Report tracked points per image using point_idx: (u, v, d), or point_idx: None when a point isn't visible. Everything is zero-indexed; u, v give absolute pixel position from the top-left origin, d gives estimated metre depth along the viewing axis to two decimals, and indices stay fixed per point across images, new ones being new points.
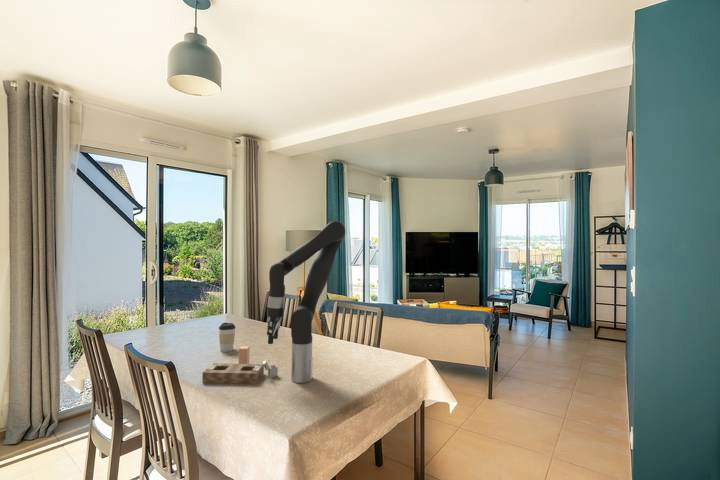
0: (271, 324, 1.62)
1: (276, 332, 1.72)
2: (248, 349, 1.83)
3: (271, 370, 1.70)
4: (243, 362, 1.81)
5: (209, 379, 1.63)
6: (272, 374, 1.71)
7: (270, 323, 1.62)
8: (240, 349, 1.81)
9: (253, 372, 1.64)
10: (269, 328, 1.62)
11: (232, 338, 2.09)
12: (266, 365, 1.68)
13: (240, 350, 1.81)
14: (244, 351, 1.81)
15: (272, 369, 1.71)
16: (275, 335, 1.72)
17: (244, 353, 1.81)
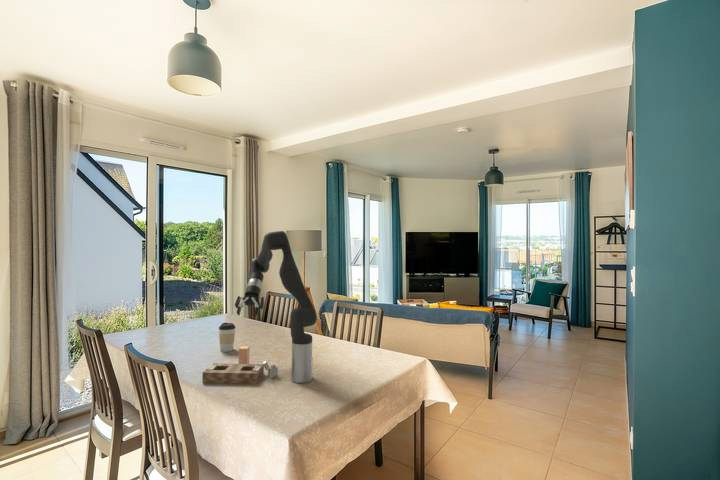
0: None
1: None
2: (248, 349, 1.83)
3: (271, 370, 1.70)
4: (243, 362, 1.81)
5: (209, 379, 1.63)
6: (272, 374, 1.71)
7: None
8: (240, 349, 1.81)
9: (253, 372, 1.64)
10: None
11: (232, 338, 2.09)
12: (266, 365, 1.68)
13: (240, 350, 1.81)
14: (244, 351, 1.81)
15: (272, 369, 1.71)
16: None
17: (244, 353, 1.81)
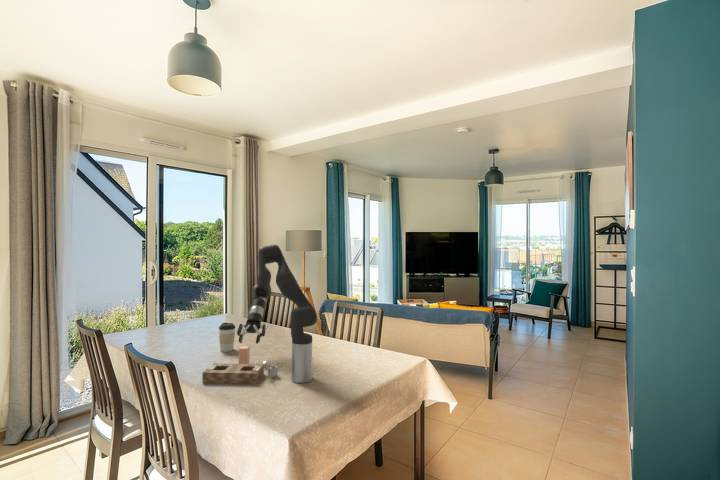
0: None
1: None
2: (248, 349, 1.83)
3: (271, 370, 1.70)
4: (243, 362, 1.81)
5: (209, 379, 1.63)
6: (272, 374, 1.71)
7: None
8: (240, 349, 1.81)
9: (253, 372, 1.64)
10: None
11: (232, 338, 2.09)
12: (266, 365, 1.68)
13: (240, 350, 1.81)
14: (244, 351, 1.81)
15: (272, 369, 1.71)
16: None
17: (244, 353, 1.81)
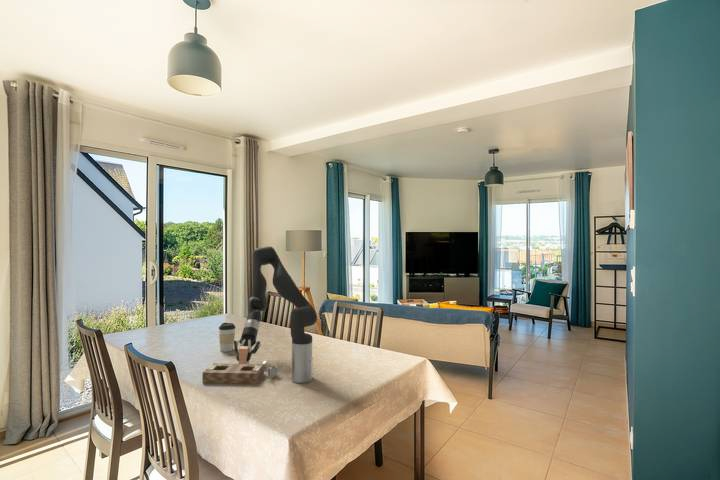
0: (234, 343, 1.87)
1: None
2: (248, 349, 1.83)
3: (271, 370, 1.70)
4: (243, 362, 1.81)
5: (209, 379, 1.63)
6: (272, 374, 1.71)
7: None
8: (240, 349, 1.81)
9: (253, 372, 1.64)
10: None
11: (232, 338, 2.09)
12: (266, 365, 1.68)
13: (240, 350, 1.81)
14: (244, 351, 1.81)
15: (272, 369, 1.71)
16: None
17: (244, 353, 1.81)
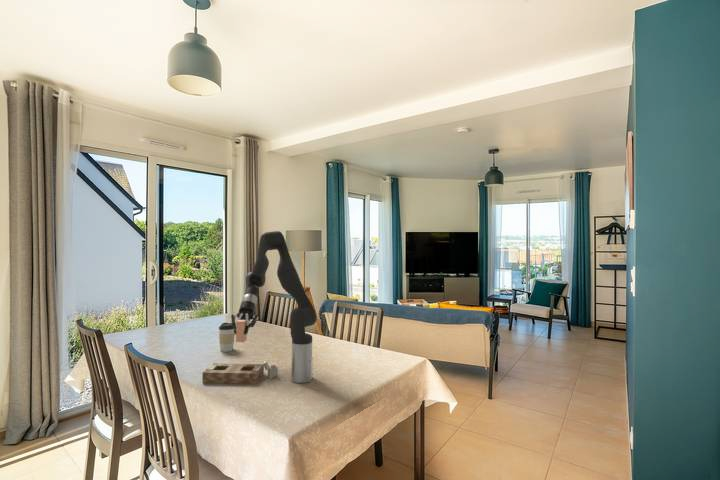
0: None
1: None
2: (245, 322, 1.81)
3: (271, 370, 1.70)
4: (240, 335, 1.79)
5: (209, 379, 1.63)
6: (272, 374, 1.71)
7: None
8: (237, 322, 1.79)
9: (253, 372, 1.64)
10: None
11: (232, 338, 2.09)
12: (266, 365, 1.68)
13: (237, 323, 1.79)
14: (241, 324, 1.79)
15: (272, 369, 1.71)
16: None
17: (241, 326, 1.79)
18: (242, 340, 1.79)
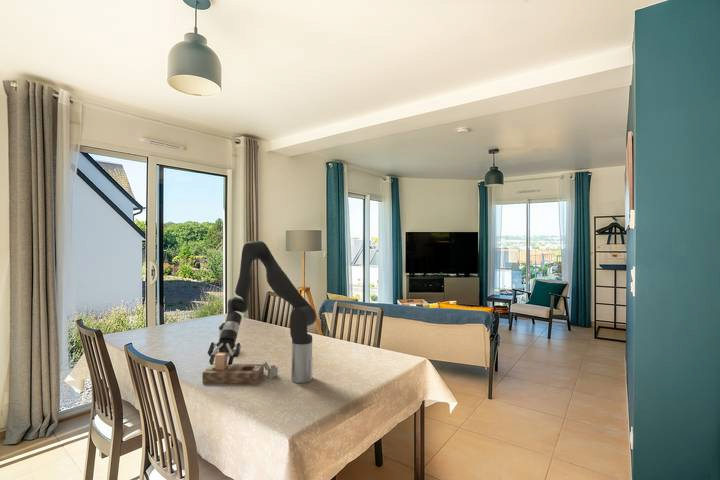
0: None
1: None
2: (225, 356, 1.69)
3: (271, 370, 1.70)
4: None
5: (209, 379, 1.63)
6: (272, 374, 1.71)
7: None
8: (216, 356, 1.67)
9: (253, 372, 1.64)
10: None
11: None
12: (266, 365, 1.68)
13: (216, 357, 1.67)
14: (220, 358, 1.67)
15: (272, 369, 1.71)
16: None
17: (221, 360, 1.67)
18: None
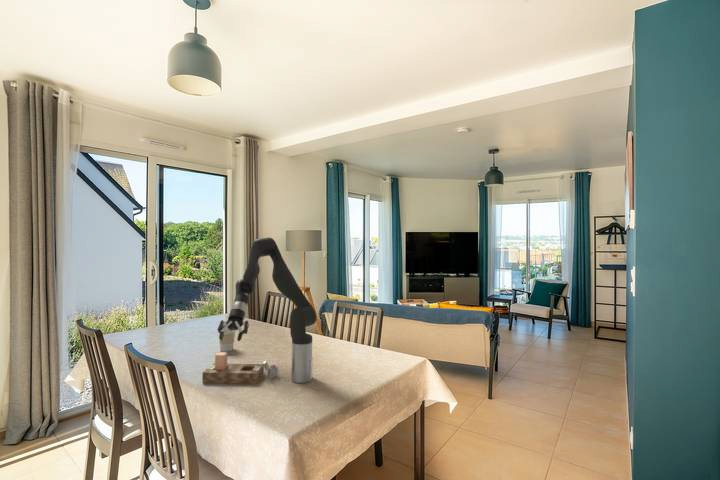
0: None
1: None
2: (225, 356, 1.69)
3: (271, 370, 1.70)
4: None
5: (209, 379, 1.63)
6: (272, 374, 1.71)
7: None
8: (216, 356, 1.67)
9: (253, 372, 1.64)
10: None
11: (232, 338, 2.09)
12: (266, 365, 1.68)
13: (216, 357, 1.67)
14: (220, 358, 1.67)
15: (272, 369, 1.71)
16: None
17: (221, 360, 1.67)
18: None
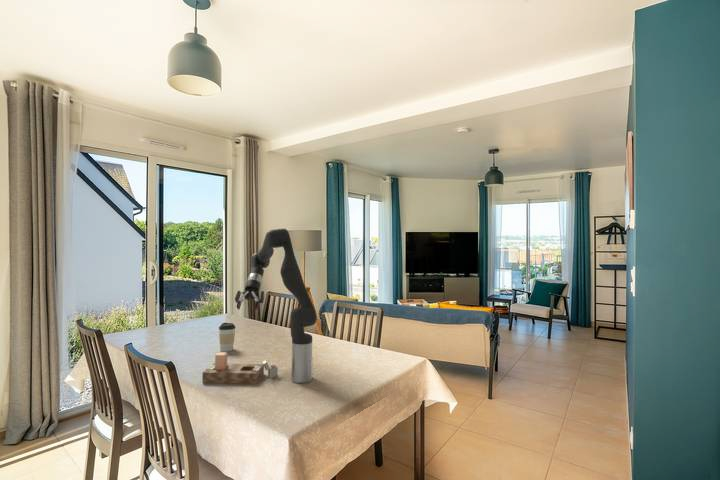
0: None
1: None
2: (225, 356, 1.69)
3: (271, 370, 1.70)
4: None
5: (209, 379, 1.63)
6: (272, 374, 1.71)
7: None
8: (216, 356, 1.67)
9: (253, 372, 1.64)
10: None
11: (232, 338, 2.09)
12: (266, 365, 1.68)
13: (216, 357, 1.67)
14: (220, 358, 1.67)
15: (272, 369, 1.71)
16: None
17: (221, 360, 1.67)
18: None
